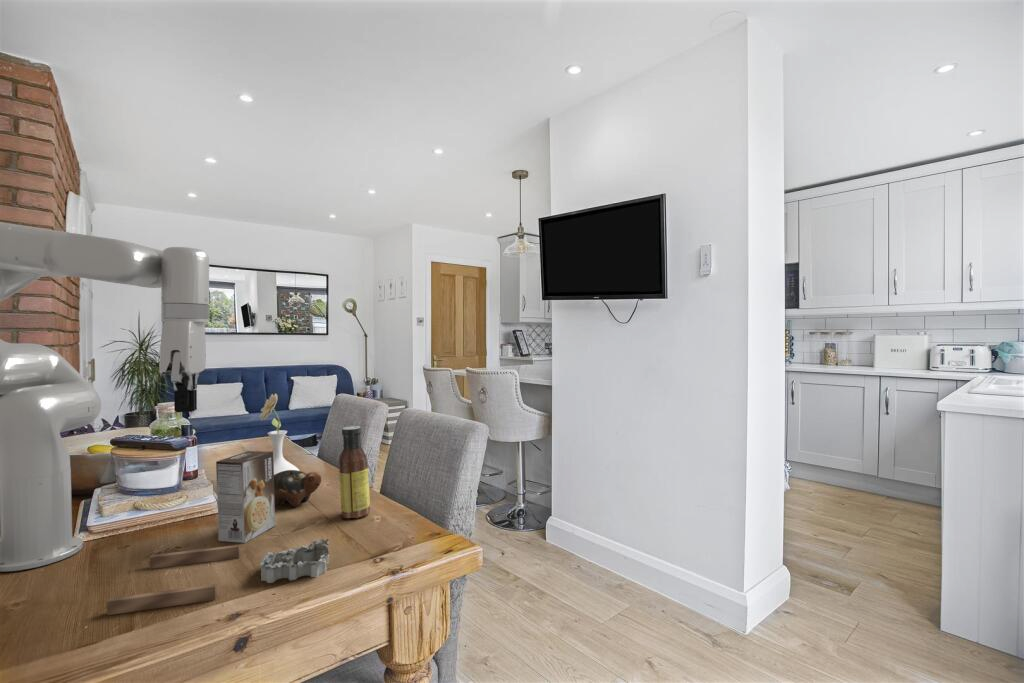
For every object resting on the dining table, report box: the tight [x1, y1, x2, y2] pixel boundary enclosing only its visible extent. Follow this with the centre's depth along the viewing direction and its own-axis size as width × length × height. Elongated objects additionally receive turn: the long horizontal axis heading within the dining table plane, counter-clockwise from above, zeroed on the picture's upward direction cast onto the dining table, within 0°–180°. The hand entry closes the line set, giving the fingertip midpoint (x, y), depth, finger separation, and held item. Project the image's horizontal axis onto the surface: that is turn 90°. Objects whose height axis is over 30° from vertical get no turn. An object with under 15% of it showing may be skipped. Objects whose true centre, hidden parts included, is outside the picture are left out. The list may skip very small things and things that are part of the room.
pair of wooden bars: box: [106, 544, 241, 616], centre depth 82 cm, size 14×16×2 cm
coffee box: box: [215, 450, 276, 544], centre depth 102 cm, size 9×6×16 cm
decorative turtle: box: [274, 470, 322, 508], centre depth 120 cm, size 10×15×8 cm, turn 89°
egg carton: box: [259, 538, 330, 584], centre depth 86 cm, size 11×8×4 cm
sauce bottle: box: [338, 425, 371, 519], centre depth 112 cm, size 6×6×20 cm
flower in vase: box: [258, 393, 300, 475], centre depth 137 cm, size 13×11×25 cm
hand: (185, 411), depth 94 cm, fingers closed
